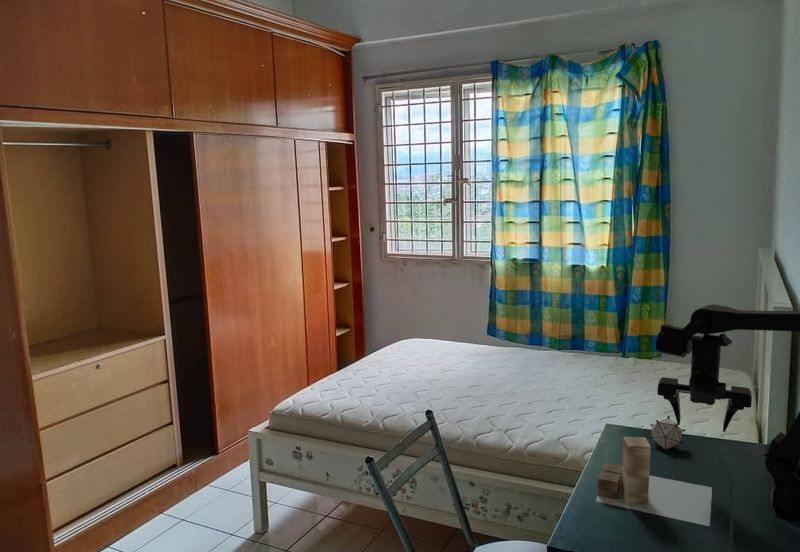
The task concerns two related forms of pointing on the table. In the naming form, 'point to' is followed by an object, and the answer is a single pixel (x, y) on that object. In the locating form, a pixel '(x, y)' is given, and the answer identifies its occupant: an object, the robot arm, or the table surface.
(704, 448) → the table surface
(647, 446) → the pillar
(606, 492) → the cube
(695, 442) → the table surface
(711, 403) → the robot arm
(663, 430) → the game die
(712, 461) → the table surface
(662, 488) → the board
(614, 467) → the cube
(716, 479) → the table surface
